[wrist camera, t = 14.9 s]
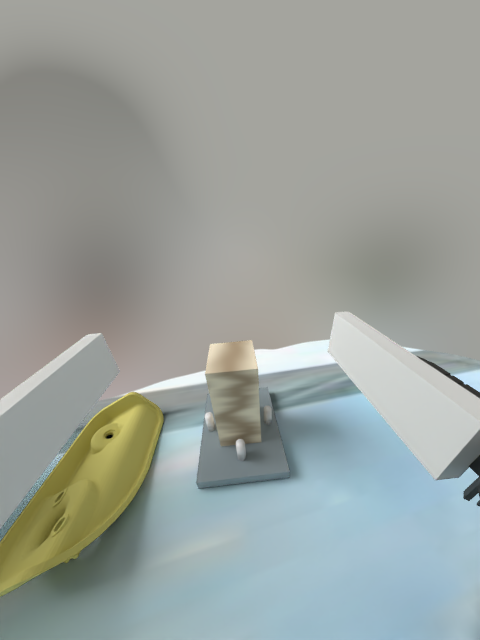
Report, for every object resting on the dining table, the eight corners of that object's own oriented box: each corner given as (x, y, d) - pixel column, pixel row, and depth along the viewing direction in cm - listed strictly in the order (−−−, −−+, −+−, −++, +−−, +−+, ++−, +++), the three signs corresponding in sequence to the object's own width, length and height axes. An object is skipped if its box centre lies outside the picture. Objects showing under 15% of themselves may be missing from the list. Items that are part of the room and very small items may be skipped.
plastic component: (94, 413, 32) (138, 387, 32) (125, 435, 35) (166, 411, 34) (-64, 626, 14) (31, 576, 13) (26, 637, 17) (110, 596, 16)
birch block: (220, 446, 26) (205, 373, 20) (222, 410, 32) (210, 344, 26) (261, 442, 26) (257, 368, 20) (255, 406, 32) (251, 340, 26)
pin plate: (198, 488, 23) (191, 470, 21) (208, 399, 36) (204, 382, 34) (289, 477, 24) (290, 458, 22) (267, 392, 36) (267, 375, 34)
